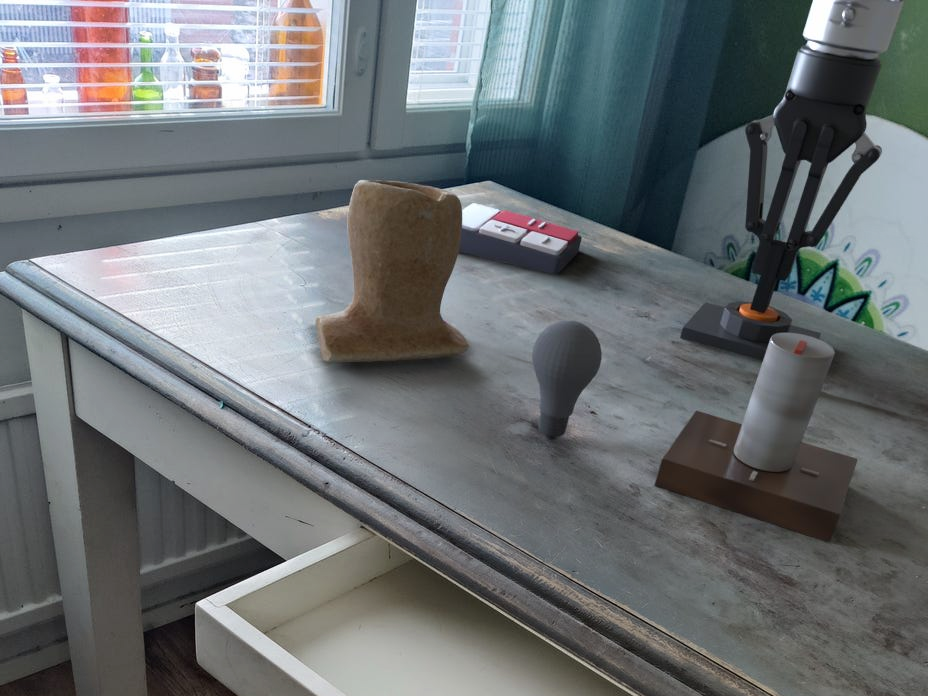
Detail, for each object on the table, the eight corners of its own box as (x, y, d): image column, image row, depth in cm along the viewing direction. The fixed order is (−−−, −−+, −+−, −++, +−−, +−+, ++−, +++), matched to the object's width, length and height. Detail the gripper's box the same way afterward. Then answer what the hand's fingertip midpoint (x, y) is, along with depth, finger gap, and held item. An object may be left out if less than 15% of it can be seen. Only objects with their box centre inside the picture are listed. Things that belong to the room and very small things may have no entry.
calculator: (562, 251, 114) (441, 216, 116) (553, 288, 116) (436, 253, 119) (584, 229, 122) (472, 197, 125) (576, 264, 125) (466, 232, 127)
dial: (740, 438, 82) (778, 323, 76) (797, 455, 81) (840, 340, 75) (727, 459, 79) (766, 341, 73) (786, 478, 77) (831, 359, 71)
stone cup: (431, 322, 101) (448, 165, 92) (480, 370, 93) (504, 203, 84) (288, 328, 96) (291, 161, 86) (327, 380, 87) (335, 202, 78)
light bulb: (535, 416, 87) (557, 304, 80) (592, 437, 85) (619, 323, 79) (506, 437, 83) (526, 321, 77) (565, 460, 81) (591, 342, 75)
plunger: (776, 326, 106) (781, 310, 104) (769, 337, 103) (774, 320, 101) (739, 316, 107) (744, 300, 106) (732, 326, 104) (736, 310, 103)
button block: (814, 352, 108) (827, 316, 106) (799, 381, 101) (812, 344, 98) (699, 321, 112) (709, 285, 109) (677, 347, 104) (687, 310, 102)
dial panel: (846, 484, 83) (858, 456, 82) (828, 542, 75) (841, 512, 74) (688, 435, 87) (696, 408, 86) (654, 485, 79) (662, 456, 78)
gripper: (763, 39, 88) (690, 301, 102) (912, 67, 84) (815, 334, 99) (778, 33, 93) (707, 282, 108) (919, 60, 90) (826, 314, 104)
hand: (759, 307), depth 103 cm, fingers closed
